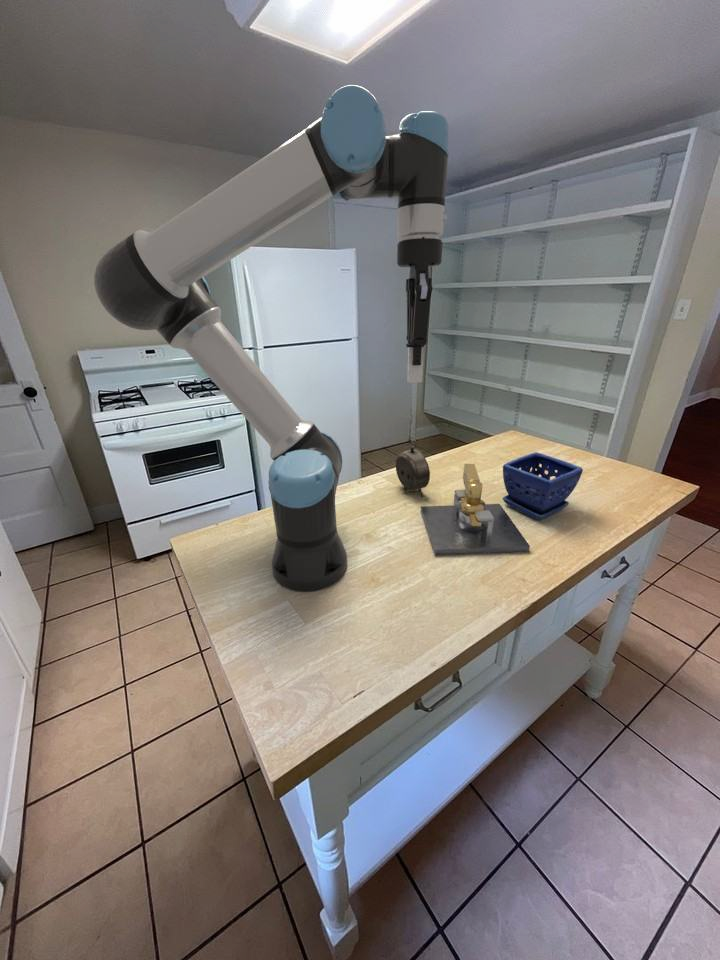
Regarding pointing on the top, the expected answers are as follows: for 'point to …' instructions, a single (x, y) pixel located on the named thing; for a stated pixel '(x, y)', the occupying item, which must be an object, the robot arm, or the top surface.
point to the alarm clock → (412, 469)
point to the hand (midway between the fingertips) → (414, 381)
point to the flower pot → (539, 484)
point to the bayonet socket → (471, 530)
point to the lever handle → (472, 494)
